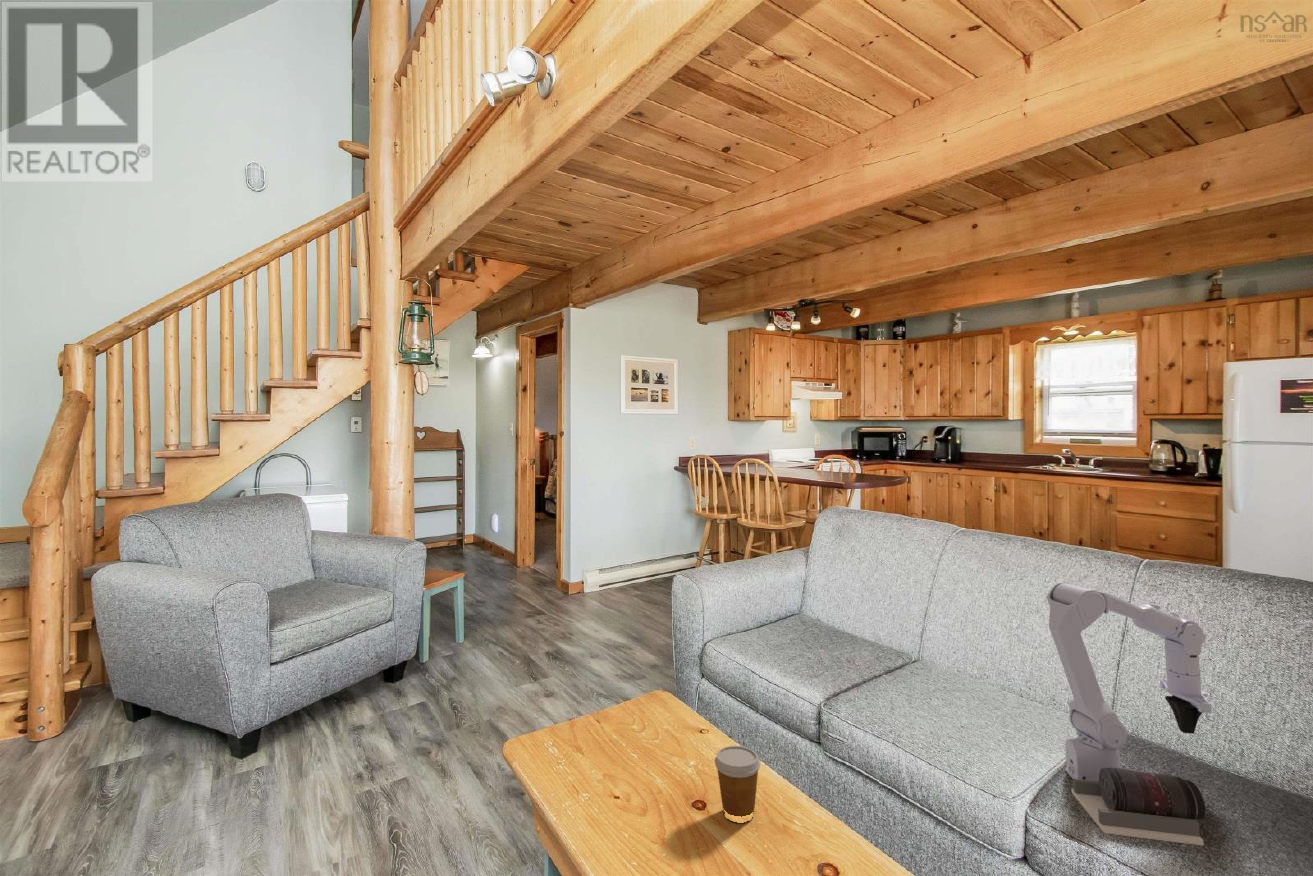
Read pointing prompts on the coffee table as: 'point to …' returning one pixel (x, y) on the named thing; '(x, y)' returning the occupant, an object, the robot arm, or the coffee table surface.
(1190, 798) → the dark patterned cylinder
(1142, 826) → the lens cradle
